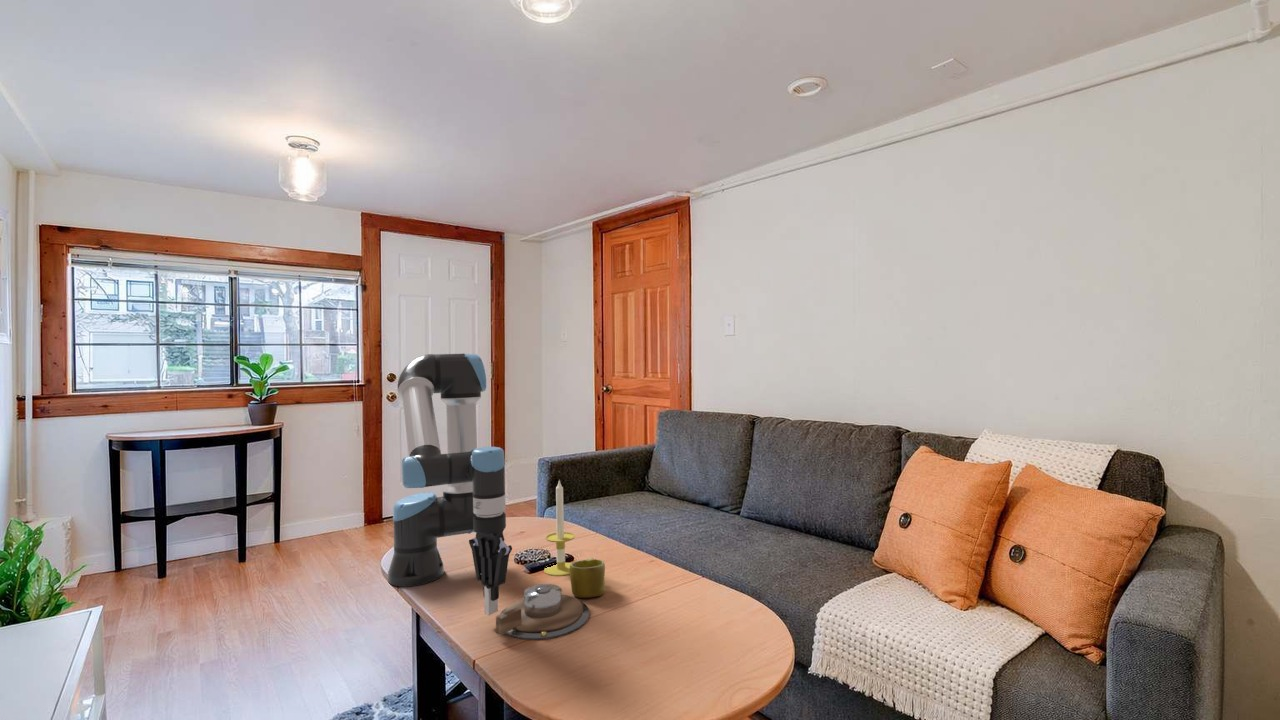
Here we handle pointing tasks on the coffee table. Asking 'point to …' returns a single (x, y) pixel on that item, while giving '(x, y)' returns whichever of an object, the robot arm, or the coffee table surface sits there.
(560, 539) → the candle
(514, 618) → the platter
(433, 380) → the robot arm
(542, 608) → the cover
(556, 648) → the coffee table surface
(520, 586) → the coffee table surface
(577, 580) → the mug
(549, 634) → the susan base
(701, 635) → the coffee table surface
